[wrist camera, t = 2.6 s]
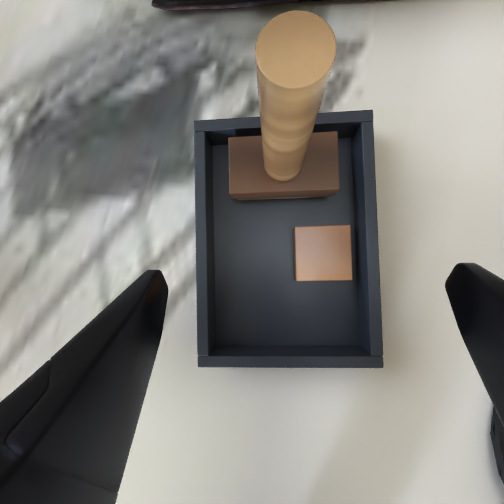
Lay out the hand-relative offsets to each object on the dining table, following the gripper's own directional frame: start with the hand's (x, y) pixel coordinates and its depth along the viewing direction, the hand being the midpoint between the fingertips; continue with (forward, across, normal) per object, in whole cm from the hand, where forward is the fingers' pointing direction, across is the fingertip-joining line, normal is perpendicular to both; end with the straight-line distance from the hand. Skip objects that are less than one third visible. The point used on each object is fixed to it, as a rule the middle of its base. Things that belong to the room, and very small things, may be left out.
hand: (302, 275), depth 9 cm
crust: (+10, -3, +8) cm, 13 cm away
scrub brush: (+14, 0, +4) cm, 15 cm away
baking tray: (+11, 0, +8) cm, 14 cm away
